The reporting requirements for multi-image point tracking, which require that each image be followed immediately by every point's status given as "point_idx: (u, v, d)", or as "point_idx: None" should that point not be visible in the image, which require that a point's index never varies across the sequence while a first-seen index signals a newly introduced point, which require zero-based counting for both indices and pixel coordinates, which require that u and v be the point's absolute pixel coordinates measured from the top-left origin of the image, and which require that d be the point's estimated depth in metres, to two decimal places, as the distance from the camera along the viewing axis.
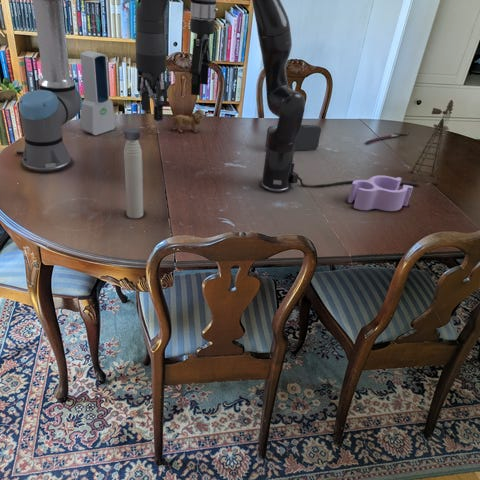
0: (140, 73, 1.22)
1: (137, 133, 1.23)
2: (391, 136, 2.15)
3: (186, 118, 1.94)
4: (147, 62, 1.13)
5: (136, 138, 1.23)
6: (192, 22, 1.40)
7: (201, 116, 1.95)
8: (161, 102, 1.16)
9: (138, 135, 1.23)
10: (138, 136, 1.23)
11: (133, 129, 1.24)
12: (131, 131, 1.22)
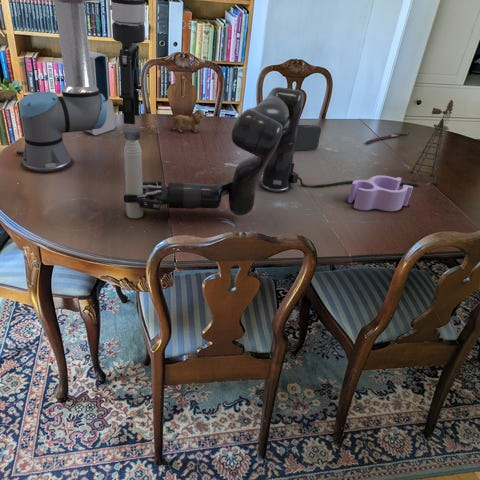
0: None
1: (137, 133, 1.23)
2: (391, 136, 2.15)
3: (186, 118, 1.94)
4: None
5: (136, 138, 1.23)
6: None
7: (201, 116, 1.95)
8: None
9: (138, 135, 1.23)
10: (138, 136, 1.23)
11: (133, 129, 1.24)
12: (131, 131, 1.22)
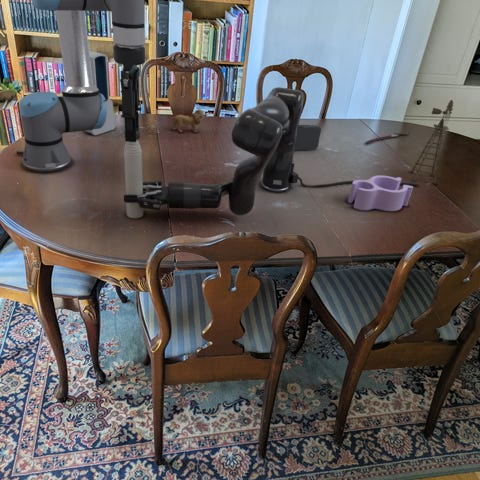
0: None
1: (137, 133, 1.23)
2: (391, 136, 2.15)
3: (186, 118, 1.94)
4: None
5: (136, 138, 1.23)
6: None
7: (201, 116, 1.95)
8: None
9: (138, 135, 1.23)
10: (138, 136, 1.23)
11: None
12: None
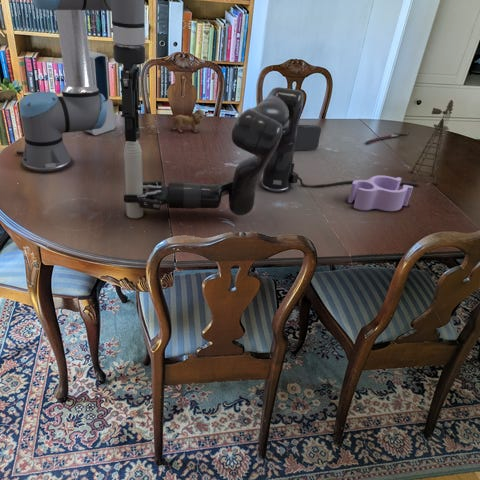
0: None
1: None
2: (391, 136, 2.15)
3: (186, 118, 1.94)
4: None
5: None
6: None
7: (201, 116, 1.95)
8: None
9: None
10: None
11: None
12: (136, 130, 1.23)
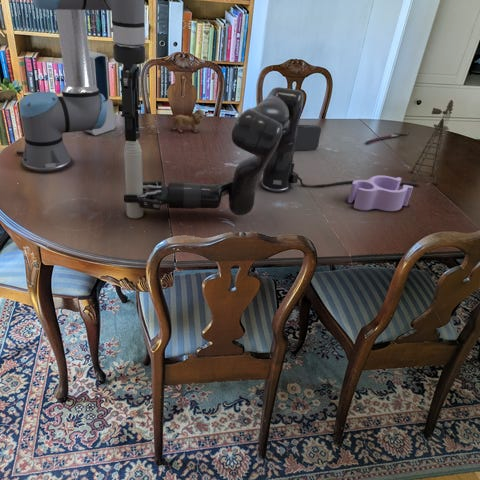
0: None
1: None
2: (391, 136, 2.15)
3: (186, 118, 1.94)
4: None
5: None
6: None
7: (201, 116, 1.95)
8: None
9: None
10: None
11: None
12: None
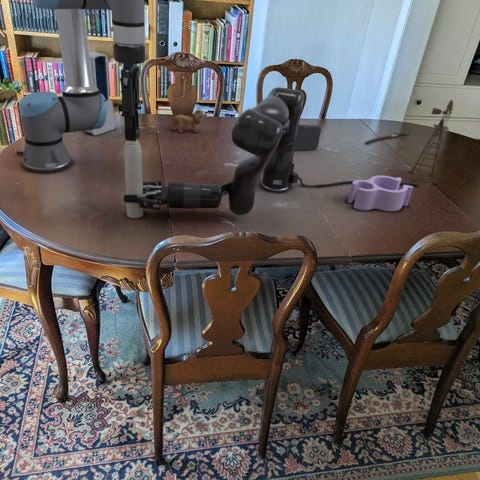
0: None
1: (124, 130, 1.23)
2: (391, 136, 2.15)
3: (186, 118, 1.94)
4: None
5: None
6: None
7: (201, 116, 1.95)
8: None
9: None
10: None
11: None
12: None
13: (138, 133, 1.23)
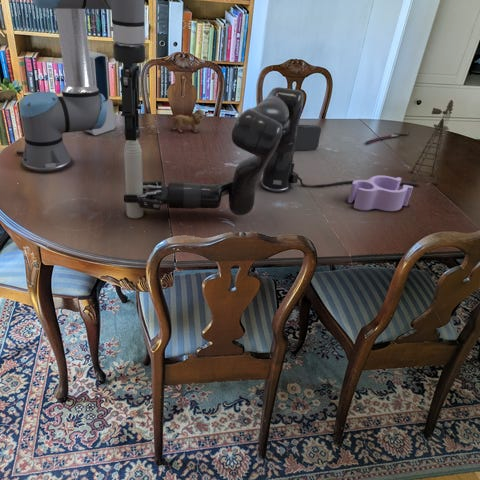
0: None
1: None
2: (391, 136, 2.15)
3: (186, 118, 1.94)
4: None
5: None
6: None
7: (201, 116, 1.95)
8: None
9: None
10: None
11: None
12: None
13: None
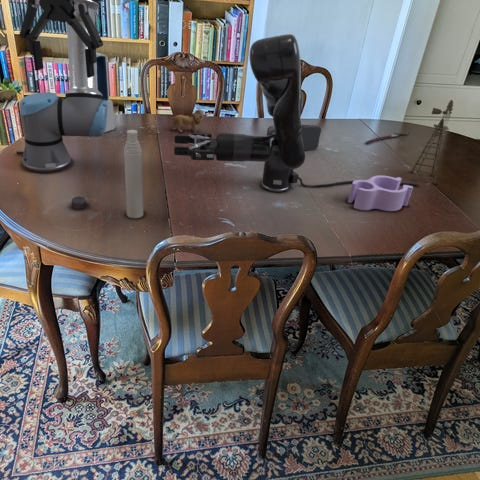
0: None
1: None
2: (391, 136, 2.15)
3: (186, 118, 1.94)
4: None
5: None
6: None
7: (201, 116, 1.95)
8: None
9: None
10: None
11: (76, 199, 1.37)
12: (82, 199, 1.37)
13: (72, 203, 1.36)
